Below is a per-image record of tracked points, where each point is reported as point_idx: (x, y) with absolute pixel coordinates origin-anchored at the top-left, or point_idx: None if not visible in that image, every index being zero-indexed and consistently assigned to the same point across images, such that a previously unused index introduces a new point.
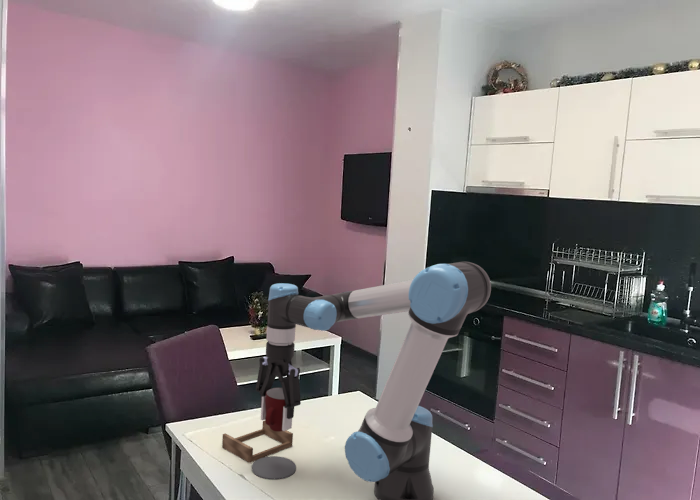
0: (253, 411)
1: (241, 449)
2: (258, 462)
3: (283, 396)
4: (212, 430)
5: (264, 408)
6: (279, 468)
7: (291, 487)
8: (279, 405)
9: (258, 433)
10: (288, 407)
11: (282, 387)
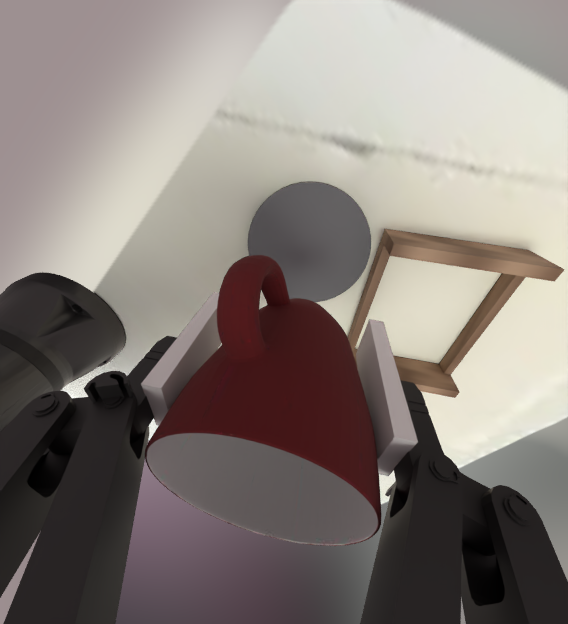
0: (525, 429)
1: (436, 244)
2: (357, 241)
3: (309, 478)
4: None
5: (375, 371)
6: (288, 251)
7: (204, 200)
8: (189, 386)
9: (450, 357)
10: (134, 390)
11: (70, 610)
